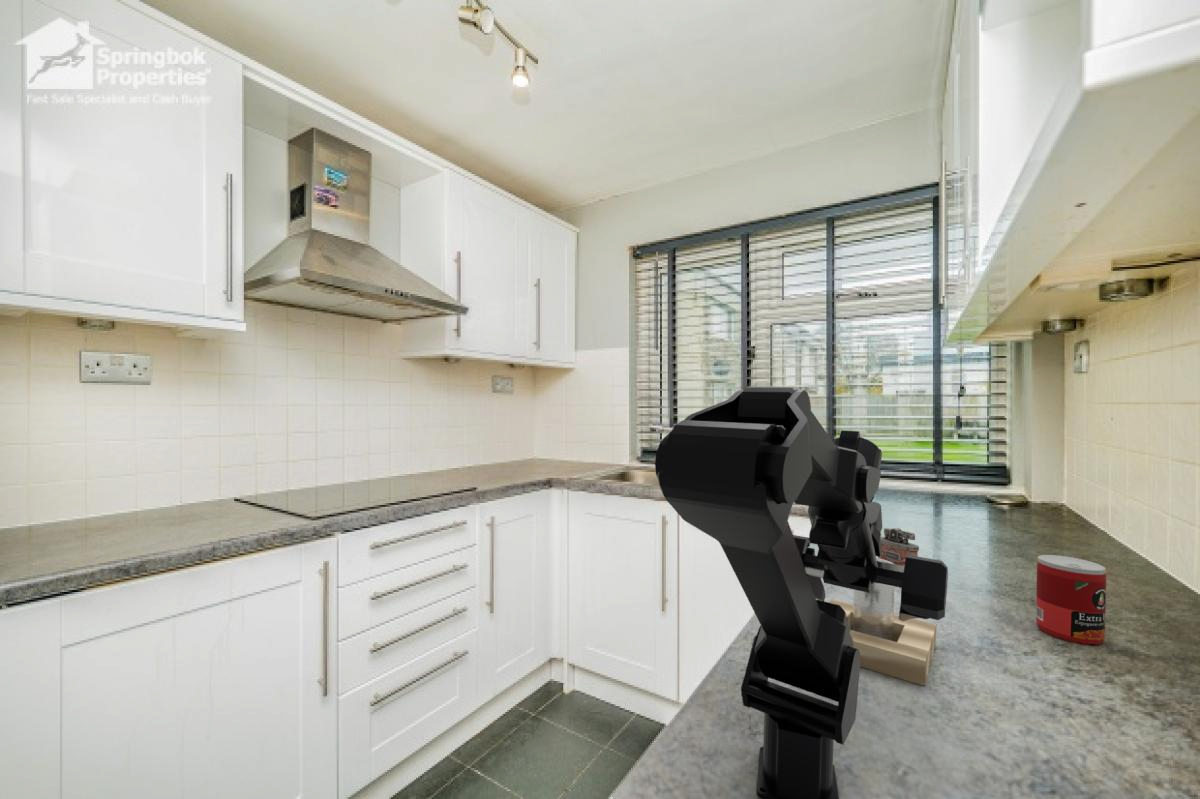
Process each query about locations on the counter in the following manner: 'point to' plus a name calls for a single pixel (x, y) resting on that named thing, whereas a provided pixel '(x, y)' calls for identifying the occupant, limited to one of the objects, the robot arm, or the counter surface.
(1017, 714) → the counter surface
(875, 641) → the tan square ring
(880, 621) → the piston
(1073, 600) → the canned food
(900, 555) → the lighter
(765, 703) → the robot arm
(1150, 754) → the counter surface
